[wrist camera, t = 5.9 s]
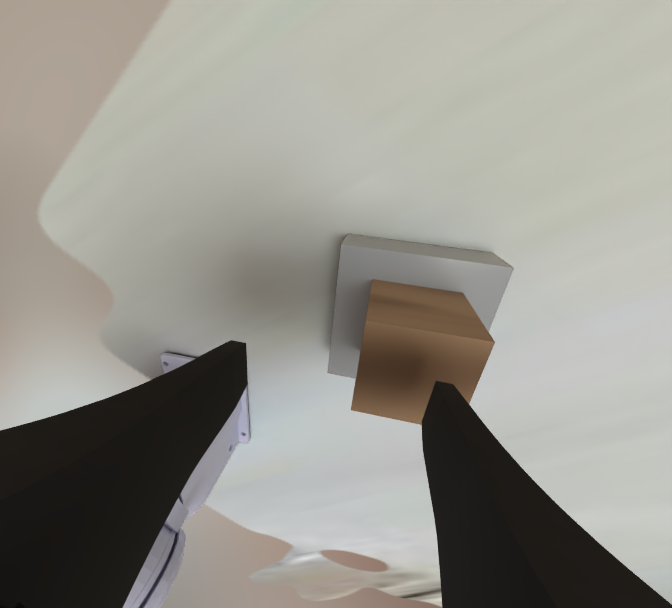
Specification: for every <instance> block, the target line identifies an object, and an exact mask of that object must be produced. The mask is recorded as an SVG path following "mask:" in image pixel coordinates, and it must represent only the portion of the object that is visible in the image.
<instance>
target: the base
mask: <svg viewBox="0 0 672 608" xmlns="http://www.w3.org/2000/svg"><path fill="white" fill-rule="evenodd" d="M513 269H514V268H513V267H512V266H511V265H509V264H508V263H507V262H505V261H504V260H502V259H501V258H500V257H498V256H497V255H496V254H494V253H489V252H481V251H474V250H466V249H459V248H451V247H444V246H436V245H429V244H421V243H413V242H406V241H398V240H391V239H383V238H376V237H368V236H361V235H353V234H348V235H347V236H346V238H345V239H344V241H343V242H342V243H341V249H340V259H339V268H338V278H337V287H336V297H335V306H334V316H333V326H332V335H331V345H330V354H329V364H328V373H330V374H335V375H340V376H345V377H351V378H356V375H357V369H358V362H359V356H360V350H361V344H362V338H363V332H364V326H365V320H366V314H367V308H368V302H369V296H370V290H371V284H372V279H376V280H382V281H389V282H395V283H402V284H408V285H415V286H421V287H428V288H435V289H441V290H448V291H454V292H461V293H464V295H465V296H466V298H467V300H468V301H469V303H470V304H471V306H472V307H473V309H474V310H475V312H476V314H477V315H478V317H479V318H480V320H481V321H482V323H483V324H484V326H485V328H486V329H487V331H488V332H489V329H490V327H491V324H492V322H493V319H494V317H495V314H496V312H497V309H498V307H499V304H500V302H501V299H502V297H503V294H504V292H505V289H506V286H507V284H508V281H509V279H510V276H511V274H512V271H513Z"/></svg>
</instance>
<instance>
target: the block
mask: <svg viewBox="0 0 672 608" xmlns="http://www.w3.org/2000/svg"><path fill="white" fill-rule="evenodd" d="M494 343H495V342H494V340H493V338H492V337H491V335H490V334H489V332H488V331H487V329H486V328H485V326H484V324H483V323H482V321H481V320H480V318H479V317H478V315H477V314H476V312H475V310H474V309H473V307H472V306H471V304H470V303H469V301H468V300H467V298H466V296H465V295H464V293H461V292H454V291H448V290H441V289H435V288H428V287H421V286H415V285H408V284H402V283H395V282H389V281H382V280H376V279H372V284H371V290H370V296H369V302H368V308H367V314H366V320H365V326H364V332H363V338H362V344H361V350H360V356H359V362H358V369H357V375H356V381H355V388H354V394H353V400H352V407H351V410H353V411H358V412H363V413H368V414H372V415H377V416H382V417H387V418H392V419H397V420H401V421H406V422H411V423H416V424H421V425H422V419H423V416H424V413H425V410H426V407H427V405H428V402H429V399H430V396H431V393H432V390H433V387H434V384H435V382H436V381H440V382H445V383H450V384H454V386H455V387H456V388H457V389H458V391H459V392H460V393H461V395H462V396H463V397H464V399H465V400H466V401H467V402H468V404H469V403H470V400H471V398H472V396H473V393H474V391H475V388H476V386H477V384H478V381H479V379H480V377H481V374H482V372H483V369H484V367H485V365H486V362H487V360H488V358H489V355H490V353H491V350H492V348H493V346H494Z"/></svg>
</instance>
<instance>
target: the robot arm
mask: <svg viewBox="0 0 672 608" xmlns="http://www.w3.org/2000/svg"><path fill="white" fill-rule="evenodd" d="M160 359H161V364H162V368H163V372H164V374H163V375H161V376H159V377H157V378H155V379H153V380H150V381H148V382H146V383H144V384H141V385H139V386H137V387H134V388H132V389H129V390H127V391H124V392H122V393H119V394H117V395H114V396H112V397H109V398H106V399H103V400H100V401H97V402H94V403H91V404H89V405H86V406H83V407H80V408H77V409H74V410H71V411H68V412H65V413H61V414H58V415H55V416H52V417H48V418H45V419H41V420H38V421H34V422H31V423H27V424H23V425H20V426H16V427H12V428H9V429H5V430H1V431H0V608H160V607H161V605H162V603H163V602H164V600H165V598H166V596H167V595H168V593H169V591H170V589H171V587H172V585H173V583H174V581H175V578H176V576H177V574H178V571H179V569H180V566H181V563H182V559H183V555H184V547H185V540H186V537H185V533H184V531H183V530H182V529H181V528H180V527H181V526H182V524H183V522H184V521H185V520H186V519H188V518H189V517H190V516H191V515H193V514H194V513H195V512H196V511H197V510H198V509H199V508H200V507H201V506H202V505H203V504H204V502H205V501H206V499H207V498H208V496H209V494H210V493H211V491H212V489H213V487H214V485H215V484H216V482H217V480H218V478H219V477H220V475H221V473H222V471H223V469H224V468H225V466H226V464H227V462H228V460H229V459H230V457H231V455H232V453H233V452H234V450H235V448H236V446H237V444H238V443H242V444H248V443H249V441H250V431H249V414H248V397H247V384H248V382H247V355H246V343H242V342H237V341H232V340H231V341H229V342H227V343H225V344H223V345H221V346H219V347H217V348H215V349H213V350H211V351H209V352H207V353H205V354H203V355H201V356H200V357H198V358H191V357H186V356H181V355H176V354H171V353H163V354H162V355H161V356H160ZM422 441H423V452H424V459H425V465H426V471H427V477H428V483H429V488H430V494H431V500H432V506H433V512H434V518H435V525H436V532H437V541H438V553H439V565H440V578H441V592H442V607H443V608H672V605H671V604H670V603H669V602H668V601H666V600H665V599H664V598H663V597H662V596H660V595H659V594H658V593H657V592H656V591H654V590H653V589H652V588H651V587H650V586H648V585H647V584H646V583H645V582H644V581H642V580H641V579H640V578H639V577H638V576H636V575H635V574H634V573H633V572H632V571H630V570H629V569H628V568H627V567H626V566H624V565H623V564H622V563H621V562H620V561H619V560H618V559H616V558H615V557H614V556H613V555H612V554H611V553H609V552H608V551H607V550H606V549H605V548H604V547H603V546H601V545H600V544H599V543H598V542H597V541H596V540H595V539H594V538H593V537H592V536H591V535H589V534H588V533H587V532H586V531H585V530H584V529H583V528H582V527H581V526H580V525H578V524H577V523H576V522H575V521H574V520H573V519H572V518H571V517H570V516H569V515H568V514H567V513H566V512H565V511H564V510H562V509H561V508H560V507H559V506H558V505H557V504H556V503H555V502H554V501H553V500H552V499H551V498H550V497H549V496H548V495H547V494H546V493H545V492H544V491H543V490H542V489H541V488H540V487H539V486H538V485H537V484H536V483H535V482H534V481H533V480H532V478H531V477H530V476H529V475H528V474H527V473H526V472H525V471H524V470H523V469H522V468H521V467H520V466H519V464H518V463H517V462H516V461H515V460H514V459H513V458H512V457H511V455H510V454H509V453H508V452H507V451H506V450H505V449H504V447H503V446H502V445H501V444H500V443H499V442H498V440H497V439H496V438H495V437H494V436H493V434H492V433H491V432H490V431H489V429H488V428H487V427H486V426H485V424H484V423H483V422H482V421H481V419H480V418H479V417H478V416H477V414H476V413H475V412H474V410H473V409H472V408H471V406H470V405H469V404H468V402H467V401H466V400H465V399H464V397H463V396H462V395H461V393H460V392H459V391H458V389H457V388H456V387H455V386H454V384H450V383H445V382H440V381H436V382H435V384H434V387H433V390H432V393H431V396H430V399H429V402H428V405H427V407H426V410H425V413H424V416H423V419H422Z"/></svg>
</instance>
